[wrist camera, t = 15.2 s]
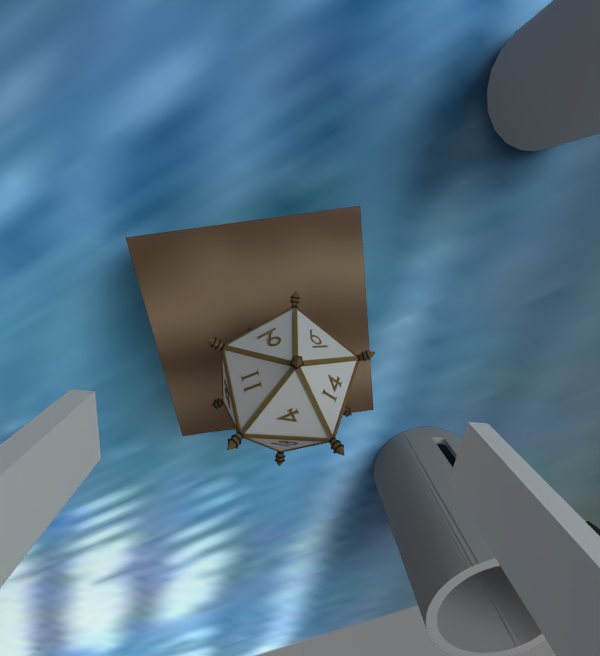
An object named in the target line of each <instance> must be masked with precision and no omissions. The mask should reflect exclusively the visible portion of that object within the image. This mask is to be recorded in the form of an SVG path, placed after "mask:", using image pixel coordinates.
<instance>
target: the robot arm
mask: <svg viewBox="0 0 600 656" xmlns="http://www.w3.org/2000/svg"><path fill="white" fill-rule="evenodd" d="M100 459H101V454H100V443H99V431H98V420H97V409H96V398H95V391H86V390H74V389H71V390H69V391H68V392H67V393H66V394H64V395H63V396H62V397H60V398H59V399H58V400H57V401H55V402H54V403H53V404H52V405H50V406H49V407H48V408H46V409H45V410H44V411H43V412H41V413H40V414H39V415H38V416H36V417H35V418H34V419H32V420H31V421H30V422H29V423H27V424H26V425H25V426H24V427H22V428H21V429H20V430H18V431H17V432H16V433H15V434H13V435H12V436H11V437H9V438H8V439H7V440H6V441H4V442H3V443H2V444H1V445H0V588H1V586H2V585H3V584H4V582H5V581H6V580H7V579H8V577H9V576H10V575H11V573H12V572H13V571H14V570H15V568H16V567H17V566H18V564H19V563H20V562H21V561H22V559H23V558H24V557H25V555H26V554H27V553H28V552H29V550H30V549H31V548H32V546H33V545H34V544H35V543H36V541H37V540H38V539H39V537H40V536H41V535H42V534H43V532H44V531H45V530H46V528H47V527H48V526H49V525H50V523H51V522H52V521H53V519H54V518H55V517H56V516H57V514H58V513H59V512H60V510H61V509H62V508H63V507H64V505H65V504H66V503H67V501H68V500H69V499H70V498H71V496H72V495H73V494H74V492H75V491H76V490H77V489H78V487H79V486H80V485H81V483H82V482H83V481H84V480H85V478H86V477H87V476H88V474H89V473H90V472H91V471H92V469H93V468H94V467H95V465H96V464H97V463H98V462H99V460H100ZM448 482H449V484H450V485H451V487H452V489H453V490H454V492H455V494H456V495H457V497H458V498H459V500H460V502H461V503H462V505H463V506H464V508H465V510H466V511H467V513H468V514H469V516H470V518H471V519H472V521H473V523H474V524H475V526H476V527H477V529H478V531H479V532H480V534H481V535H482V537H483V539H484V540H485V542H486V543H487V545H488V547H489V548H490V550H491V552H492V553H493V555H494V556H495V558H496V560H497V561H498V563H499V564H500V566H501V568H502V569H503V571H504V572H505V574H506V576H507V577H508V579H509V581H510V582H511V584H512V585H513V587H514V589H515V590H516V592H517V593H518V595H519V597H520V598H521V600H522V601H523V603H524V605H525V606H526V608H527V610H528V611H529V613H530V614H531V616H532V618H533V619H534V621H535V622H536V624H537V626H538V627H539V629H540V630H541V632H542V634H543V635H544V637H545V639H546V640H547V642H548V643H549V645H550V646H551V648H552V650H553V651H554V653H555V654H556V656H600V529H599V528H597V527H596V526H595V525H593V524H592V523H591V522H589V521H584V520H583V519H582V518H581V517H580V516H579V515H578V514H577V513H576V512H575V511H574V510H573V509H572V508H571V507H570V506H569V505H568V504H567V503H566V502H565V501H564V500H563V499H562V498H561V497H560V496H559V495H558V494H557V493H556V492H555V491H554V490H553V489H552V488H551V487H550V486H549V485H548V484H547V483H546V482H545V481H544V480H543V479H542V478H541V477H540V476H539V475H538V474H537V473H536V472H535V471H534V470H533V469H532V468H531V467H530V466H529V465H528V464H527V463H526V462H525V461H524V460H523V459H522V458H521V457H520V455H519V454H518V453H517V452H516V451H515V450H514V449H513V448H512V447H511V446H510V445H509V444H508V443H507V442H506V441H505V440H504V439H503V438H502V437H501V436H500V435H499V434H498V433H497V432H496V431H495V430H494V429H493V428H492V427H491V426H490V425H489V424H486V423H474V422H468V424H467V427H466V430H465V433H464V436H463V439H462V442H461V445H460V448H459V451H458V454H457V457H456V460H455V463H454V466H453V469H452V472H451V475H450V478H449V481H448Z"/></svg>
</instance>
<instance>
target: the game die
mask: <svg viewBox="0 0 600 656" xmlns="http://www.w3.org/2000/svg"><path fill="white" fill-rule="evenodd" d="M290 298H291V301H290V302H291V305H292V306H291V307H290V308H289V309H287V310H285V311H283V312H281V313H280V314H278V315H276V316H274V317H272V318H270V319H269V320H267V321H265V322H263V323H261V324H260V325H258V326H256V327H254V328H252V329H248V328H247V332H245V333H243V334H242V335H240V336H238V337H236V338H234V339H233V340H231V341H229V342H227V343H225V344H222V343H221V341H220V340H217V338H216V337H215V338H206V339H207V341H208V343H209V345H210V348H211V347H213V348H214V349H215V350H216V349H219V350H221V369H222V399H219V398H218V399H217V400H216V399H214V402H213V403H212V405H211V406H212V407H214V408H216V409H217V408H220V407H222V406H223V405H224V406H225V408H226V410H227V412H228V414H229V416H230V418H231V420H232V422H233V425H234V427H235V429H236V431H237V434H236V435H233V436H231V437H232V438H231V439H228V448H227V450H230V449H233V448H238V445H239V444H241V440H242V438H245V439H248V440H250V441H253V442H255V443H258V444H260V445H263V446H265V447H268V448H270V449H273V450H276V451H277V452H278V453H277V454H276V456H275V457H276V459H275V461H276V462H277V464H278V465H279V466H280V465H281V464H282V462H284V461H285V460H284V457H285V456H284V452H285V451H290V450H295V449H299V448H304V447H309V446H314V445H318V444H323V443H328V442H329V443H330V444H331V449H333V450H334V453H338V454H341V455H344V449H343V447H344V445H342V444H341V442H340V441H339V440H336V438H335V436H336V433H337V430H338V427H339V424H340V421H341V418H342V414H343V415H345V416H346V417H347V416H349V415H352V414H351V412H350V408H347V407H345V405H346V402H347V399H348V396H349V392H350V389H351V386H352V383H353V380H354V377H355V374H356V370H357V367H358V364H359V361H366V360H370V359H371V357H372V356H373V355H374V354H375V352H371V351H367V350H366V351H365V352H363V351H362V352H361V354H359V355H357V354H355V353H354V352H353V351H352V350H350V349H349V348H348V347H347V346H345V345H344V344H343V343H342V342H340V341H339V340H338V339H337V338H335V337H334V336H333V335H331V334H330V333H329V332H328V331H326V330H325V329H324V328H323V327H321V326H320V325H319V324H318V323H316V322H315V321H314V320H313V319H311V318H310V317H309V316H308V315H306V314H305V313H304V312H303V311H301V310H300V309H299V308H298V304H299V303H300V302H299V300H300V299H301V298H300V297H299V295H298V292H297V290H296V291H295V292H294V294H293V295H292V296H291V297H290Z"/></svg>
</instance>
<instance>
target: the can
mask: <svg viewBox="0 0 600 656" xmlns="http://www.w3.org/2000/svg"><path fill="white" fill-rule="evenodd" d="M487 103H488V114H489V116H490V119H491V122H492V124H493V127H494V130H495V131H496V132H497V133H498V134H499V136H500V137H501V138H502V139H503V140H504V141H505V143H507V144H509V145H511V146H513V147H515V148H517V149H519V150H525V151H540V150H543V149H547V148H551V147H554V146H558V145H561V144H565V143H568V142H572V141H575V140H579V139H582V138H585V137H589V136H592V135H596V134H599V133H600V0H553V1H552V2H551V3H550V4H549V5H547V6H546V7H545V8H544V9H543V10H541V11H540V12H539V13H538V14H537V15H535V16H534V17H533V18H532V19H531V20H529V21H528V22H527V23H526V24H525V25H523V26H522V27H521V28H520V29H519V30H517V31H516V32H515V33H514V35H513V36H512V37H511V38H510V39H509V41H508V42H507V43H506V44H505V45H504V47H503V48H502V49H501V51H500V53H499V55H498V57H497V59H496V61H495V63H494V65H493V68H492V70H491V74H490V79H489V84H488V89H487Z"/></svg>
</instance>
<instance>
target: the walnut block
mask: <svg viewBox="0 0 600 656" xmlns="http://www.w3.org/2000/svg"><path fill="white" fill-rule="evenodd" d="M126 241H127V244H128V248H129V251H130V255H131V258H132V261H133V265H134V268H135V272H136V275H137V279H138V282H139V286H140V289H141V293H142V296H143V300H144V303H145V307H146V310H147V314H148V317H149V321H150V324H151V327H152V331H153V334H154V338H155V341H156V345H157V348H158V352H159V355H160V359H161V362H162V366H163V369H164V373H165V376H166V380H167V383H168V387H169V390H170V393H171V397H172V400H173V404H174V407H175V411H176V414H177V418H178V421H179V425H180V428H181V432H182V435H183V436H186V435H193V434H201V433H208V432H215V431H222V430H230V429H235V427H234V425H233V422H232V420H231V418H230V416H229V414H228V412H227V410H226V408H225V406H224V405H223V406H222V407H220V408H217V409H216V408H214V407H212V406H211V405H212V403H213V402H214V399H216V400H217V399H218V398H219V399H222V369H221V350H219V349H216V350H215V349H214V348H213V347H211V348H210V345H209V343H208V341H207V339H206V338H215V337H216V338H217V340H220V341H221V343H222V344H225V343H227V342H229V341H231V340H233V339H234V338H236V337H238V336H240V335H242V334H243V333H245V332H247V328H248V329H252V328H254V327H256V326H258V325H260V324H261V323H263V322H265V321H267V320H269V319H270V318H272V317H274V316H276V315H278V314H280V313H281V312H283V311H285V310H287V309H289V308H290V307H291V306H292V305H291V302H290V301H291V298H290V297H291V296H292V295H293V294H294V292H295V291H296V290H297V292H298V295H299V297H300V298H301V299H300V300H299V302H300V303H299V304H298V308H299V309H300V310H301V311H303V312H304V313H305V314H306V315H308V316H309V317H310V318H311V319H313V320H314V321H315V322H316V323H318V324H319V325H320V326H321V327H323V328H324V329H325V330H326V331H328V332H329V333H330V334H331V335H333V336H334V337H335V338H337V339H338V340H339V341H340V342H342V343H343V344H344V345H345V346H347V347H348V348H349V349H350V350H352V351H353V352H354V353H355V354H357V355H359V354H361V352H362V351H363V352H365V351H366V350H367V351H370V349H369V334H368V319H367V303H366V288H365V273H364V257H363V242H362V227H361V211H360V206H356V207H349V208H341V209H334V210H326V211H319V212H311V213H304V214H297V215H289V216H282V217H274V218H267V219H260V220H252V221H245V222H237V223H230V224H223V225H215V226H208V227H200V228H193V229H186V230H178V231H171V232H163V233H156V234H149V235H141V236H134V237H126ZM345 407H347V408H350V412H351V413H353V412H360V411H367V410H373V395H372V380H371V365H370V360H366V361H359V364H358V367H357V370H356V374H355V377H354V380H353V383H352V386H351V389H350V392H349V396H348V399H347V402H346V405H345Z"/></svg>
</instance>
